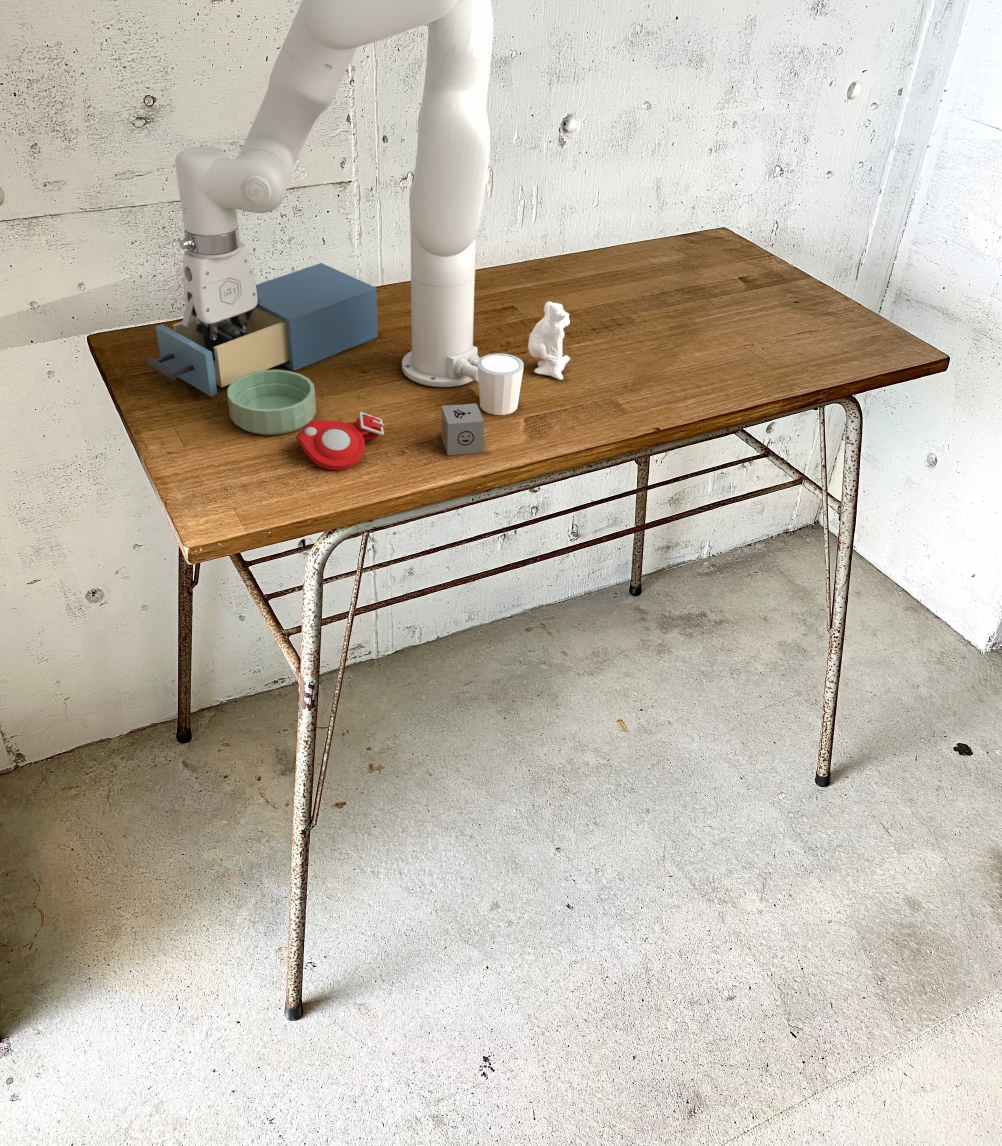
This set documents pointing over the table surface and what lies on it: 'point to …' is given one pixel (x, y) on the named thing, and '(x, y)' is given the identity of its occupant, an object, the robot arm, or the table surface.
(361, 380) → the table surface
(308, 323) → the cabinet
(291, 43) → the robot arm
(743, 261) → the table surface
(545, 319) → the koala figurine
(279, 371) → the bowl
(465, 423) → the dice cube
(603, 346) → the table surface
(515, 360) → the white faceted cup
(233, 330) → the grey roller rack
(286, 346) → the drawer
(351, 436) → the tracker holder
